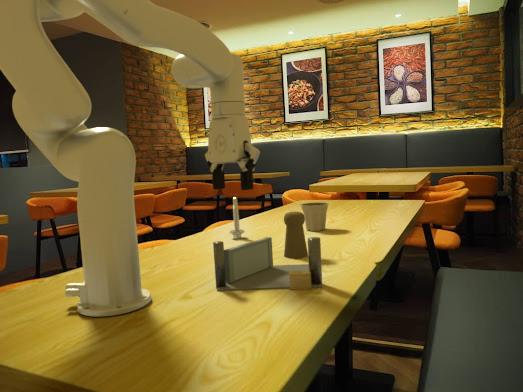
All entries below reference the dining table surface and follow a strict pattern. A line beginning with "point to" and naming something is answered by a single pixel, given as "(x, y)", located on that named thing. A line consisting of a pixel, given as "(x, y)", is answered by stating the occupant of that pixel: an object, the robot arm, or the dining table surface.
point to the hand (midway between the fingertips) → (232, 189)
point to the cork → (295, 236)
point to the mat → (267, 279)
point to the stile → (314, 274)
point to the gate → (248, 259)
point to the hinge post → (219, 264)
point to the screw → (236, 221)
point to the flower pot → (315, 215)
